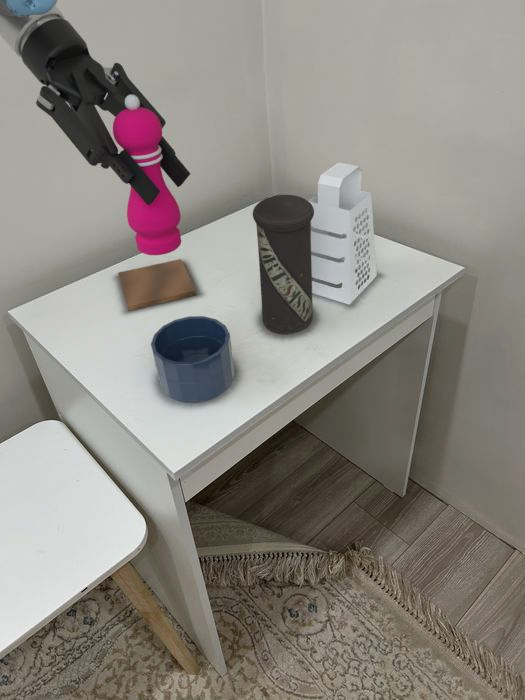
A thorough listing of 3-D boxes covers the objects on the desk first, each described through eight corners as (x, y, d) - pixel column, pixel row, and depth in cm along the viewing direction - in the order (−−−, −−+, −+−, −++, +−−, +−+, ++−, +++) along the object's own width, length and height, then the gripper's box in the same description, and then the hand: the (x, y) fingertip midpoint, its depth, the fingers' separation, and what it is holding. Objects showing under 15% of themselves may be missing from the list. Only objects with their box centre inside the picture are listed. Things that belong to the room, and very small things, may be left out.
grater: (376, 275, 97) (386, 164, 84) (349, 304, 90) (355, 189, 78) (325, 261, 102) (327, 154, 89) (295, 287, 95) (293, 176, 83)
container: (254, 333, 86) (244, 215, 73) (267, 301, 93) (260, 188, 80) (308, 338, 84) (308, 218, 71) (318, 305, 91) (319, 190, 78)
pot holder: (128, 311, 93) (127, 306, 92) (119, 277, 102) (117, 272, 101) (196, 295, 95) (195, 290, 95) (181, 263, 104) (181, 258, 104)
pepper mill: (167, 228, 81) (142, 83, 69) (194, 245, 77) (172, 93, 64) (124, 244, 78) (89, 96, 66) (150, 263, 74) (117, 107, 61)
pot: (168, 411, 73) (159, 372, 69) (154, 364, 81) (145, 326, 77) (243, 390, 76) (239, 352, 71) (222, 346, 84) (217, 309, 79)
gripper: (88, 47, 76) (198, 180, 79) (-26, 79, 64) (109, 234, 67) (107, 3, 70) (224, 148, 73) (-15, 30, 58) (132, 201, 62)
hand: (169, 189), depth 70 cm, fingers closed on pepper mill, 5 cm apart
